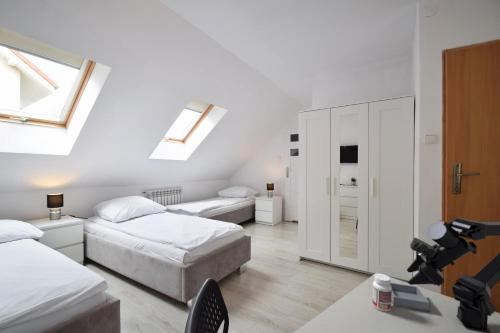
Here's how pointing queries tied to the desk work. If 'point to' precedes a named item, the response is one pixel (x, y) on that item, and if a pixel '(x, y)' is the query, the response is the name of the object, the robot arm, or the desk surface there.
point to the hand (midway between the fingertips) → (408, 277)
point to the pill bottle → (382, 292)
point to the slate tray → (408, 297)
